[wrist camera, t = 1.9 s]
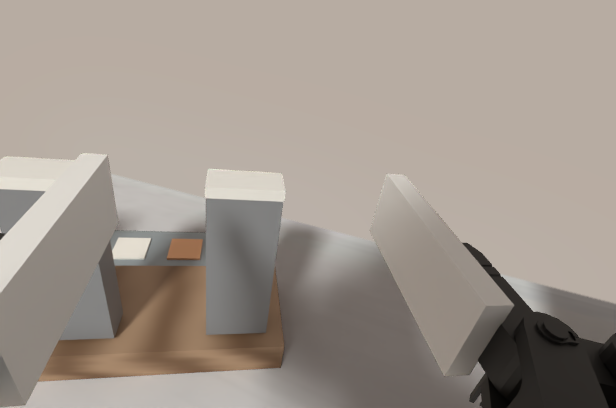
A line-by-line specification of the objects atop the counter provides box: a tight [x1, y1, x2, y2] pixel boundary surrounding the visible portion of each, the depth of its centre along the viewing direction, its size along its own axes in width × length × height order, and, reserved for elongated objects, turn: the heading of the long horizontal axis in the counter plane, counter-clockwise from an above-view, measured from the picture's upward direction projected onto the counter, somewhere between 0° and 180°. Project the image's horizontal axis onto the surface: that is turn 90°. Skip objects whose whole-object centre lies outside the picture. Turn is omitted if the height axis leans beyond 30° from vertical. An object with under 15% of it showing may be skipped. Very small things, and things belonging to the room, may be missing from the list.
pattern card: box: [110, 230, 206, 266], centre depth 40 cm, size 18×7×1 cm, turn 99°
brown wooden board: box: [38, 266, 284, 381], centre depth 31 cm, size 32×10×3 cm, turn 99°
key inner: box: [205, 169, 286, 335], centre depth 27 cm, size 3×5×14 cm, turn 99°
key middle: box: [0, 156, 123, 340], centre depth 25 cm, size 3×5×14 cm, turn 99°
